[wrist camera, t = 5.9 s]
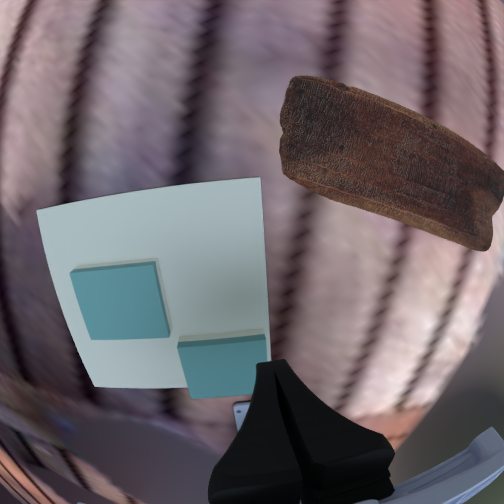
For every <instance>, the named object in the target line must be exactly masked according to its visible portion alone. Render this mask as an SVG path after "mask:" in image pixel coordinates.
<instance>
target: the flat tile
mask: <svg viewBox="0 0 504 504" xmlns="http://www.w3.org/2000/svg"><path fill="white" fill-rule="evenodd" d="M177 350H178V354H179V357H180V361H181V365H182V368H183V372H184V376H185V379H186V383H187V386H188V389H189V393H190V396H191V399H199V398H215V397H227V396H238V395H248V394H253V390H254V386H255V380H256V364H257V363H260V362H267V346H266V337H265V333H264V329H255V330H246V331H237V332H227V333H216V334H205V335H192V336H179V340H178V345H177Z"/></svg>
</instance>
